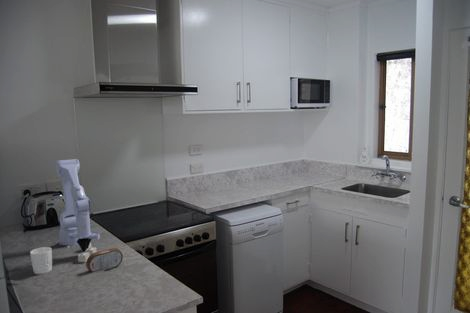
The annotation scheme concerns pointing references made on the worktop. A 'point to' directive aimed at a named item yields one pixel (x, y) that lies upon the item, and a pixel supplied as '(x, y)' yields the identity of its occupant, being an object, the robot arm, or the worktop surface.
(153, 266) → the worktop surface
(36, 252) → the white cup
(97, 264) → the tin
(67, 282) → the worktop surface
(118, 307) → the worktop surface
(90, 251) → the tab
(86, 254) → the tab
